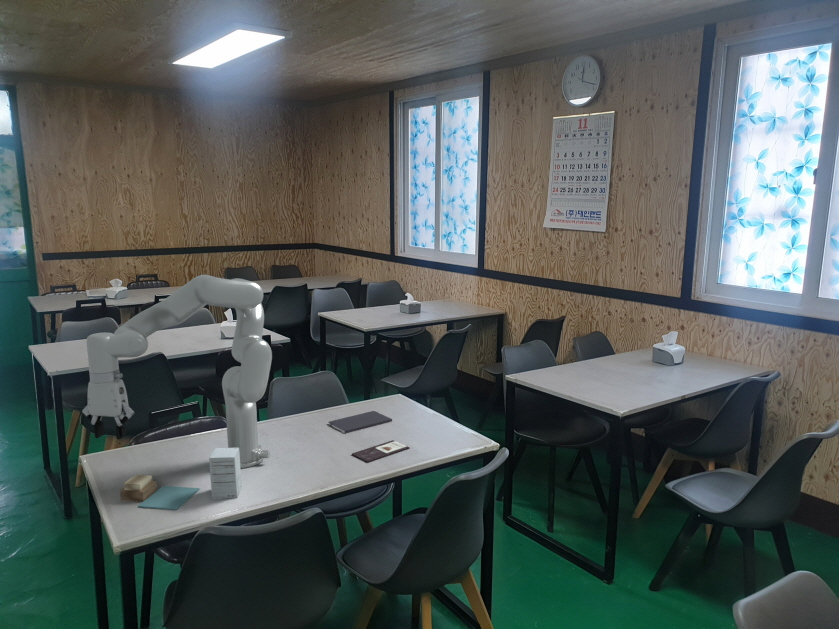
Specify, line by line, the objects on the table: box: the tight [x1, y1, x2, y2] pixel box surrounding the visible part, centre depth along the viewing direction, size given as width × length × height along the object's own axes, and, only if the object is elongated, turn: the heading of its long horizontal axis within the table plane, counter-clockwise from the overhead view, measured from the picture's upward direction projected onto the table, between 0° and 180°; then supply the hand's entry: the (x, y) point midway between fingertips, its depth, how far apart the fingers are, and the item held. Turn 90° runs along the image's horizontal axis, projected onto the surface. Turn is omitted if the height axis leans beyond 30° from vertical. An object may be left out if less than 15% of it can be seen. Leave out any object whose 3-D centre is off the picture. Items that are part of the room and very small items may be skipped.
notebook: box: [328, 410, 393, 434], centre depth 244 cm, size 13×2×21 cm
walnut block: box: [119, 480, 158, 503], centre depth 184 cm, size 7×7×3 cm
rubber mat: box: [137, 485, 201, 511], centre depth 183 cm, size 12×13×1 cm
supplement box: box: [208, 447, 243, 500], centre depth 185 cm, size 7×7×13 cm
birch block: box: [123, 474, 153, 491], centre depth 184 cm, size 5×6×2 cm
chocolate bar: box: [351, 439, 410, 464], centre depth 216 cm, size 9×1×18 cm
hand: (110, 436), depth 182 cm, fingers open, 6 cm apart
